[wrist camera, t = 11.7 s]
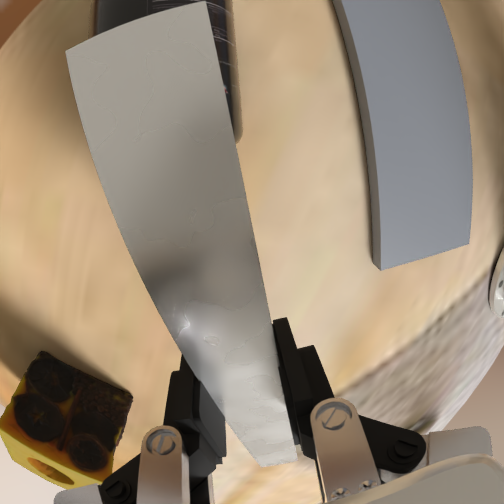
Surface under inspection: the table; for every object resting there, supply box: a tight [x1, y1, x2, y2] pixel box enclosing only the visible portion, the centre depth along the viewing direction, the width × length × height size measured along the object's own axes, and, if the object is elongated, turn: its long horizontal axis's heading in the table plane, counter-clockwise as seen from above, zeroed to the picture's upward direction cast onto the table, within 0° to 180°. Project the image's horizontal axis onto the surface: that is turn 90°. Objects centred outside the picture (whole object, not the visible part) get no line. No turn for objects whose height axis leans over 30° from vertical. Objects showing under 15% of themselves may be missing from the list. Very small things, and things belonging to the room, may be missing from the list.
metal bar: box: [65, 1, 298, 467], centre depth 11 cm, size 2×22×4 cm, turn 11°
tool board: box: [332, 0, 473, 270], centre depth 13 cm, size 9×28×1 cm, turn 11°
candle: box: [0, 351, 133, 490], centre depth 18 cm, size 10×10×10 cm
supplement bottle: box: [88, 0, 243, 144], centre depth 10 cm, size 7×7×12 cm
